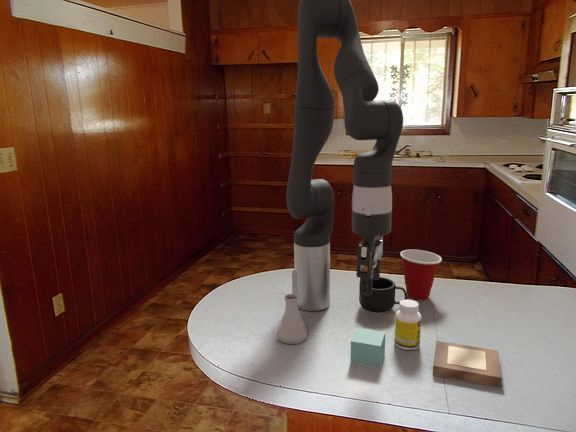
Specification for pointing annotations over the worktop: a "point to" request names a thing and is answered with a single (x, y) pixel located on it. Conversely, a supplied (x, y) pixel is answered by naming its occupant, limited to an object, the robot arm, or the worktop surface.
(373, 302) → the mug
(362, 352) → the teal block
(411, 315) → the supplement bottle
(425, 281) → the plastic cup
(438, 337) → the worktop surface
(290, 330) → the flask
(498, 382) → the base board
